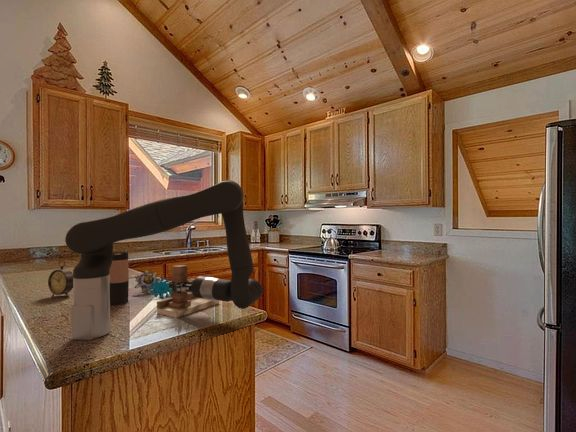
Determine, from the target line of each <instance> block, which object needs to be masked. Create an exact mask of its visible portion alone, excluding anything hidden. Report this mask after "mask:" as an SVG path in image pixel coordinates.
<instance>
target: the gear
mask: <svg viewBox="0 0 576 432" xmlns="http://www.w3.org/2000/svg"><path fill="white" fill-rule="evenodd" d="M158 280H159V279H155V282H156V283H157V284H156V285H155V284H154V282H152V283H151V285H153V286H154V287H155V288H153V287H152V286H150V288H149V289H151V292H150V294H151V295H153V294H154V295H153V297H155V298H158V296H159V298H160V299H163V298H164V294H165V298H170V297H169V296H170V295H172V288H169V282H170V279H168V278H166V279H165V278H164V277H160V280H161V281H160V282H158Z"/></svg>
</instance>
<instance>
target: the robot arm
mask: <svg viewBox="0 0 576 432" xmlns="http://www.w3.org/2000/svg"><path fill="white" fill-rule="evenodd" d="M244 197H245V196H244V191H243V188H242V187H241V185H240V184H239V183H238V182H236V181H234V180H231V179H230V180H222V181H219V182H217V183H216V184H214V185H212V186H209V187H207V188H204V189H201V190H200V191H196V192H194V193H190V194H186V195H177V196H171V197H166V198H164V199H163V198H162V199H158V200H156V201H151V202H148V203H146V204H142V205H140V206H137V207H134V208H130V209H129V210H126V211H123V212H121V213H118V214H116V215H113V216H109V217H105V218H100V219H95V220H90V221H84V222H83V221H82V222H79V223H76V224H74V225H73V226H71V228H69V230H67V232H66V235H65V241H64V242H65V245H66V247H68V249H69V250H71V251H72V252H74V253H76V254H81V256H80V260H79V262H78V263H77V264H76V265H75V266H74V268H73V271H72V273H73V289H72V292H73V293H72V296H73V297H72V298H73V305H71V307H70V332H71V333H70V334H71V335H70V338H71V340H81V341H82V340H84V341H85V340H87V341H88V340H89V341H90V340H94V339H97V338H100V337H103V336H106V335H107V334H109V333H110V332H111V305H110V267H111V265H112V258H113V253H114V243H118V242H120V241H125V240H132V239H137V238H143V237H148V236H153V235H156V234H160V233H163V232H167V231H170V230H173V229H176V228H179V227H181V226H184V225H186V224H189V223H191V222H194V221H196V220H199V219H201V218H206V217H210V216H215V215H220V214H221V216H222V219H223V222H224V223H223V224H224V229H225V236H226V237H225V239H226V249H227V256H228V260H229V267H230V271H231V278H230V279H223V278H218V277H213V276H207V275H206V276H204V275H199V276H197V277H195V278H191V279H190V278H189V279H188V278H187V279H188V281H182V282H172V280H171V281H170V280H169V282H168V283H169V288H172V291H174V292H176V293H181V291H183V292H188V293H192V294H193V295H194V296H195V297H196V298H202V299H208V300H219V302H233V304H234V306H235V307H237V308H238V309H242V310H244V309H247V308H249V307H250V306H252V305H253V304H254V303H256V302H257V301H258V300H260V299H261V297H262V295H263V292H264V288H263V285H262V284H261V282H259V280H256V279H254V278H250V277H251V276H252V274H253V273H254V271H255V268H254V262H253V258H252V256H253V255H252V252H251V247H250V242H249V239H248V234H247V231H246V230H247V229H246V224H245V217H244ZM184 283H185V284H184ZM179 284H180V285H179Z"/></svg>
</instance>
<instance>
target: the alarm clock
mask: <svg viewBox="0 0 576 432" xmlns="http://www.w3.org/2000/svg"><path fill="white" fill-rule="evenodd" d="M61 261H63V263H64V264H63V265H61V264H60V263H61ZM58 266H60V269H54V270H53V271H52V272H51V273H50V274H49V276H48V279H47V284H48V289H49V291H50V292H51V293H52V297H54V296H61V295H65V296H66V298H69V294H68V293H70V292H71V291H73V271H71V270H70V269H67V268H64V267H65V266H66V261H65V260H64V259H60V260H59V261H58Z"/></svg>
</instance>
